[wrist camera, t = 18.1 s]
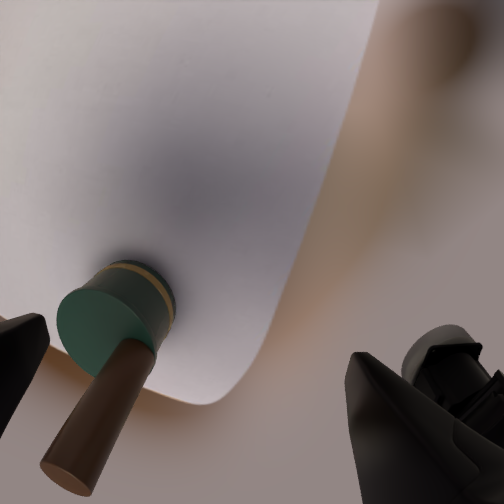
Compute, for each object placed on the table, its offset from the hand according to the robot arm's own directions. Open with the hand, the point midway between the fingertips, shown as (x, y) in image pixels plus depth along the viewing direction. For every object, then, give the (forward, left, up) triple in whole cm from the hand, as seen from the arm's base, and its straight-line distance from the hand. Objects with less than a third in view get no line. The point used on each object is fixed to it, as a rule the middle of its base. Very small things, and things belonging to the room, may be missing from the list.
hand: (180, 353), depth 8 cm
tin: (+7, +6, -13) cm, 16 cm away
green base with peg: (+7, +6, -8) cm, 12 cm away
